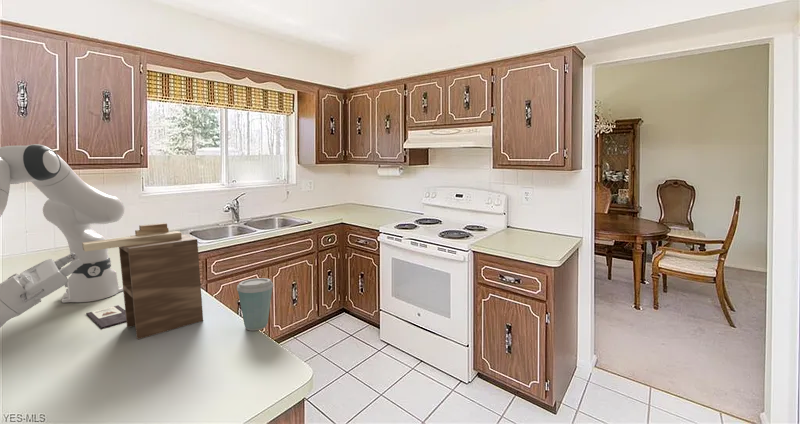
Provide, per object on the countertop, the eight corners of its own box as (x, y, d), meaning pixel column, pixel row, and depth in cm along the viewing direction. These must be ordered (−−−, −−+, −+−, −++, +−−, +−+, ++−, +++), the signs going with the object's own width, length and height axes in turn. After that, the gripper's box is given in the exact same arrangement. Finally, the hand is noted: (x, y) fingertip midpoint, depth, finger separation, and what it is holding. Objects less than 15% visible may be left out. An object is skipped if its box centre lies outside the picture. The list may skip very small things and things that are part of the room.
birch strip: (82, 249, 106) (82, 242, 105) (178, 237, 123) (177, 231, 123) (84, 251, 103) (84, 244, 103) (181, 238, 121) (181, 232, 120)
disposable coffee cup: (233, 326, 119) (230, 280, 117) (266, 316, 126) (264, 273, 124) (247, 337, 111) (244, 288, 109) (281, 326, 119) (279, 280, 117)
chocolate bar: (101, 327, 117) (86, 313, 128) (102, 330, 117) (86, 315, 128) (135, 318, 124) (118, 305, 135) (135, 320, 124) (118, 307, 135)
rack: (126, 326, 119) (116, 227, 115) (189, 310, 132) (182, 220, 128) (137, 339, 110) (127, 232, 106) (203, 320, 123) (196, 224, 119)
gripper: (11, 294, 88) (75, 255, 95) (8, 275, 101) (64, 243, 109) (33, 312, 91) (93, 273, 98) (28, 292, 104) (81, 259, 112)
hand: (78, 257), depth 104 cm, fingers open, 8 cm apart
